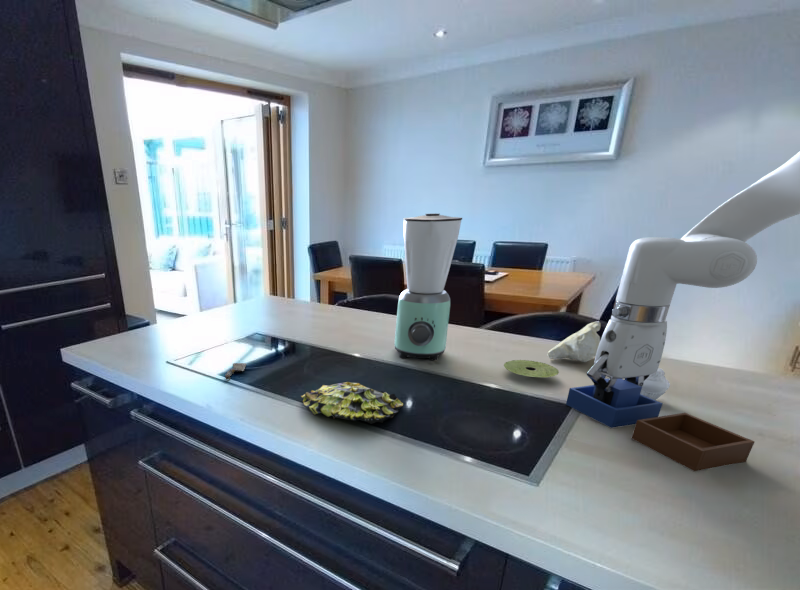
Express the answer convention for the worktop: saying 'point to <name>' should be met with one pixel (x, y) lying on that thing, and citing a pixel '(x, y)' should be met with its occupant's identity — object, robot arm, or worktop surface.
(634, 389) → the blue block
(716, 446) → the brown bin
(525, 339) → the worktop surface
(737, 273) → the robot arm
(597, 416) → the blue bin
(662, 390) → the muffin
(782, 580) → the worktop surface
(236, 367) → the meat cleaver
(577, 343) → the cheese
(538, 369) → the green disc
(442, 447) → the worktop surface
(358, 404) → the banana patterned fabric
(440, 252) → the blender
